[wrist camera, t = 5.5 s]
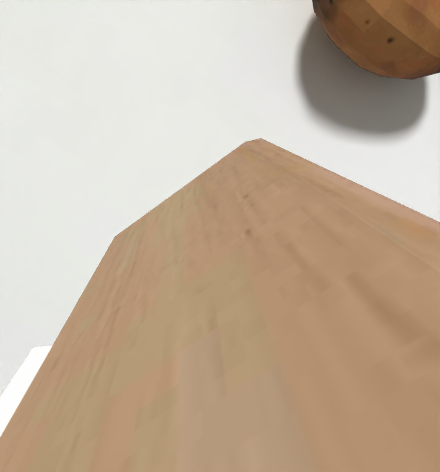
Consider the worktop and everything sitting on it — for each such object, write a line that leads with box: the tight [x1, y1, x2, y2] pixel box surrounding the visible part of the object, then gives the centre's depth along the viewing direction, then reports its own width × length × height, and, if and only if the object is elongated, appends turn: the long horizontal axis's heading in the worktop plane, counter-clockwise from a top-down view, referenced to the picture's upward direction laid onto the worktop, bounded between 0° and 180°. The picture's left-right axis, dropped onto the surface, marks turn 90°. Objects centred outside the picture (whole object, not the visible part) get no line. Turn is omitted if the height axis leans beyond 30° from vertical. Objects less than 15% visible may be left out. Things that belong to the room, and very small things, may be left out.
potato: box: [312, 0, 440, 79], centre depth 28 cm, size 8×14×8 cm
